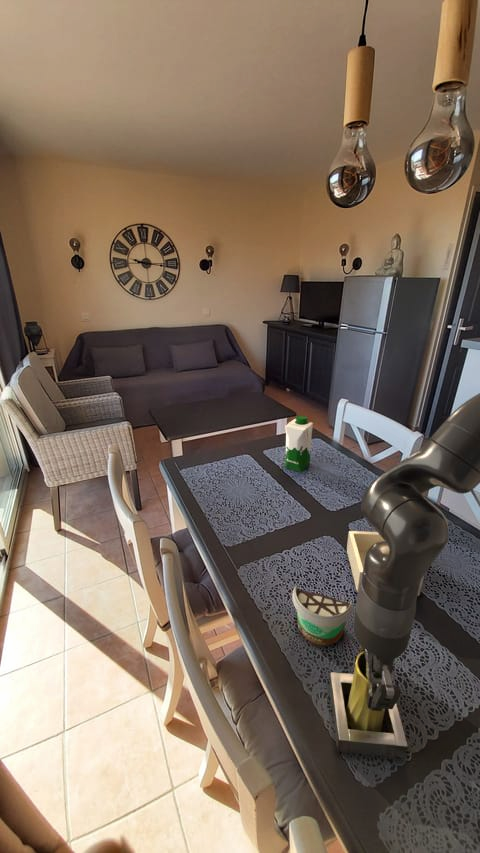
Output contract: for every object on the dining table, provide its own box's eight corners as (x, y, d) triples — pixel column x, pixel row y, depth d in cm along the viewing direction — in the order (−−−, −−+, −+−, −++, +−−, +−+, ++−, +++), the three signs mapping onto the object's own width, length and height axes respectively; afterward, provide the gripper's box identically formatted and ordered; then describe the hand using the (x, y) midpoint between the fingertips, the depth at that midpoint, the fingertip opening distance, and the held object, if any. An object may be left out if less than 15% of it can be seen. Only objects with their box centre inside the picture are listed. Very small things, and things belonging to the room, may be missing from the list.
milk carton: (312, 465, 139) (315, 417, 131) (302, 475, 133) (304, 426, 124) (292, 459, 144) (293, 412, 136) (281, 469, 137) (282, 421, 129)
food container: (284, 641, 74) (285, 607, 70) (292, 617, 80) (293, 583, 76) (346, 662, 70) (351, 627, 66) (349, 635, 75) (354, 601, 71)
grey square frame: (386, 690, 65) (389, 676, 64) (403, 760, 56) (408, 746, 55) (328, 685, 66) (330, 672, 65) (337, 754, 57) (339, 740, 56)
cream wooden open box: (400, 553, 96) (404, 532, 93) (419, 598, 83) (424, 575, 80) (346, 551, 97) (348, 530, 94) (356, 594, 85) (360, 572, 82)
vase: (351, 693, 65) (360, 640, 59) (386, 714, 62) (399, 661, 56) (339, 725, 61) (347, 672, 55) (376, 750, 57) (388, 696, 52)
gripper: (431, 665, 44) (409, 742, 51) (396, 573, 57) (382, 644, 64) (368, 660, 44) (354, 737, 51) (347, 570, 57) (338, 641, 64)
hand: (369, 685), depth 57 cm, fingers closed on vase, 5 cm apart
